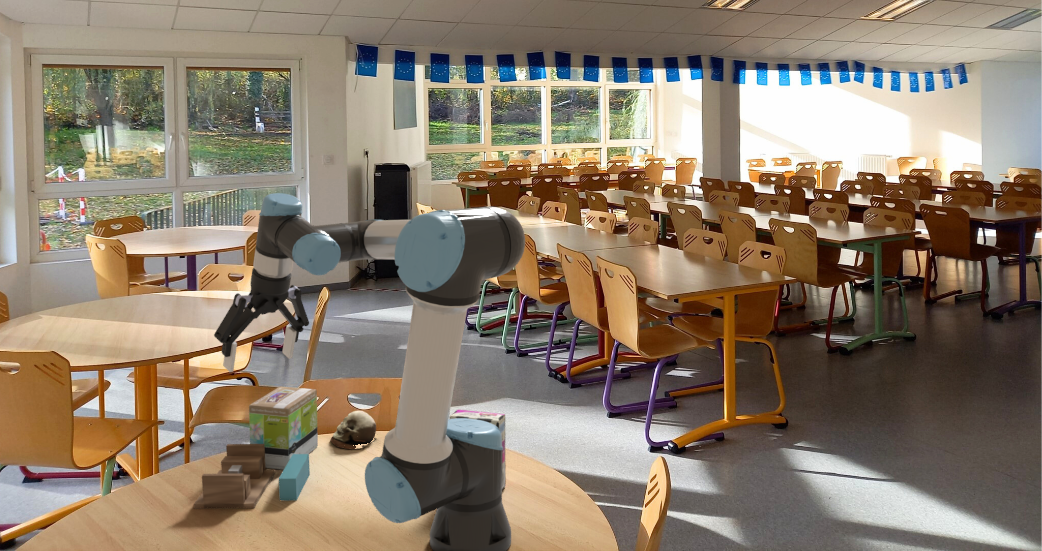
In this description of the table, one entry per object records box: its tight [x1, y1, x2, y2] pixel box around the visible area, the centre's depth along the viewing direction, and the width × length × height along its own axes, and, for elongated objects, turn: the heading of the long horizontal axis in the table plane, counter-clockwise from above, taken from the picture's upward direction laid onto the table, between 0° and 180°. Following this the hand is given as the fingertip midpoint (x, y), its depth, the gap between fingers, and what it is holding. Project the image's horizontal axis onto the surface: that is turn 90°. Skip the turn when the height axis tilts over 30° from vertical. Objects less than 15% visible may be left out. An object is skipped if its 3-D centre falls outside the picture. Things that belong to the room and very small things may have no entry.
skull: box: [330, 410, 377, 450], centre depth 209 cm, size 12×10×10 cm
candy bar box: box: [449, 409, 507, 491], centre depth 182 cm, size 11×5×16 cm, turn 73°
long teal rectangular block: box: [278, 453, 311, 502], centre depth 182 cm, size 13×4×5 cm, turn 2°
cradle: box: [193, 443, 276, 510], centre depth 180 cm, size 17×12×7 cm
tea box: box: [248, 386, 319, 471], centre depth 198 cm, size 15×10×15 cm, turn 168°
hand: (258, 361), depth 177 cm, fingers open, 13 cm apart
